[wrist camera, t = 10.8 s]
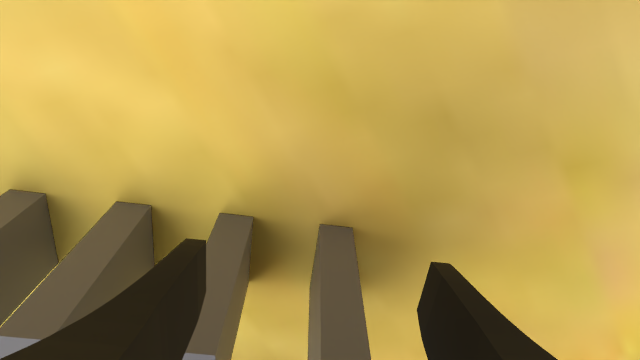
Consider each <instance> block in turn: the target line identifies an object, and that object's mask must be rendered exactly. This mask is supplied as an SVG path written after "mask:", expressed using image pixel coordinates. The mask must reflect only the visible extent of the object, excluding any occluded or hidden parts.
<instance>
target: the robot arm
mask: <svg viewBox="0 0 640 360" xmlns="http://www.w3.org/2000/svg"><path fill="white" fill-rule="evenodd" d="M205 294H206V240H196V239H185V240H184V241H183V242H181V243H180V244H179V245H178V246H177V247H176V248H175V249H174V250H172V251H171V252H170V253H169V254H168V255H167V256H166V257H164V258H163V259H162V260H161V261H160V262H159V263H158V264H156V265H155V266H154V267H153V268H152V269H150V270H149V271H148V272H147V273H146V274H144V275H143V276H142V277H141V278H139V279H138V280H137V281H136V282H134V283H133V284H132V285H130V286H129V287H128V288H126V289H125V290H124V291H122V292H121V293H120V294H118V295H117V296H116V297H114V298H113V299H111V300H110V301H108V302H107V303H105V304H104V305H102V306H101V307H99V308H98V309H96V310H94V311H93V312H91V313H90V314H88V315H86V316H85V317H83V318H81V319H80V320H78V321H76V322H74V323H72V324H70V325H68V326H67V327H65V328H63V329H61V330H59V331H57V332H56V333H54V334H52V335H50V336H48V337H46V338H44V339H42V340H40V341H38V342H36V343H34V344H32V345H30V346H28V347H25V348H23V349H21V350H19V351H17V352H14V353H12V354H10V355H8V356H5V357H3V358H1V359H0V360H182V359H183V357H184V354H185V352H186V349H187V347H188V345H189V342H190V340H191V337H192V335H193V332H194V330H195V327H196V325H197V322H198V320H199V316H200V313H201V309H202V306H203V302H204V298H205ZM417 313H418V320H419V326H420V331H421V337H422V341H423V344H424V348H425V351H426V354H427V358H428V360H558V359H556V358H555V357H553V356H552V355H551V354H549V353H548V352H547V351H546V350H544V349H543V348H542V347H540V346H539V345H538V344H536V343H535V342H534V341H533V340H531V339H530V338H529V337H528V336H526V335H525V334H524V333H523V332H522V331H520V330H519V329H518V328H517V327H516V326H515V325H514V324H512V323H511V322H510V321H509V320H508V319H507V318H506V317H505V316H503V315H502V314H501V313H500V312H499V311H498V310H497V309H496V308H495V307H494V306H493V305H492V304H491V303H490V302H489V301H487V300H486V299H485V298H484V297H483V296H482V295H481V294H480V293H479V292H478V291H477V290H476V289H475V288H474V287H473V286H472V285H471V284H470V283H469V282H468V281H467V280H466V279H465V278H464V277H463V276H462V275H461V274H460V273H459V272H458V271H457V270H456V269H455V268H454V267H453V266H452V265H451V264H448V263H438V262H431V264H430V268H429V271H428V274H427V278H426V281H425V284H424V288H423V291H422V295H421V298H420V301H419V305H418V308H417Z"/></svg>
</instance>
